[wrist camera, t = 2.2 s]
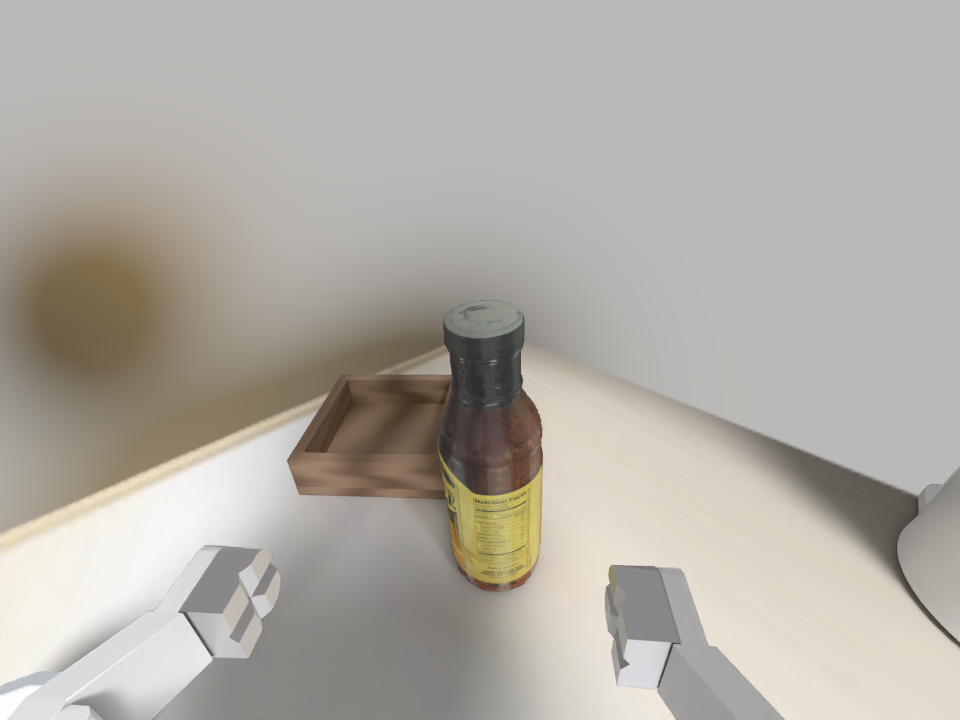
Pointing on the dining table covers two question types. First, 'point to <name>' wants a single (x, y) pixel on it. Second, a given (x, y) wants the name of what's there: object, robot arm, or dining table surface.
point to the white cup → (21, 691)
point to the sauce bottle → (491, 448)
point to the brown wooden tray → (375, 438)
